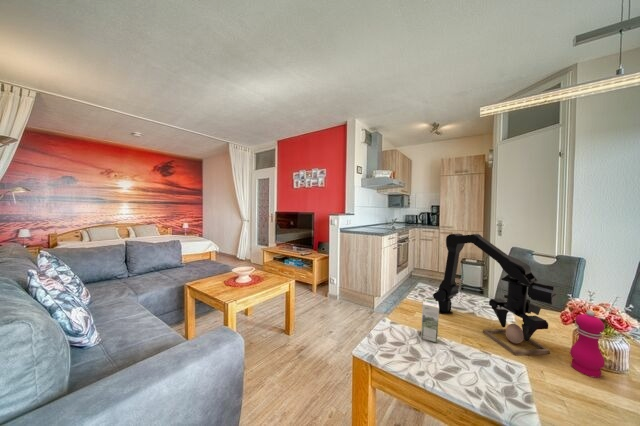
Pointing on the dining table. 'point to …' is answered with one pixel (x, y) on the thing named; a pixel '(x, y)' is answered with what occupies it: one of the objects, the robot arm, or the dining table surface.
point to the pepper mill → (588, 345)
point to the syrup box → (430, 320)
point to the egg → (514, 333)
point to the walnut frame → (515, 352)
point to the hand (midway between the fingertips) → (514, 333)
